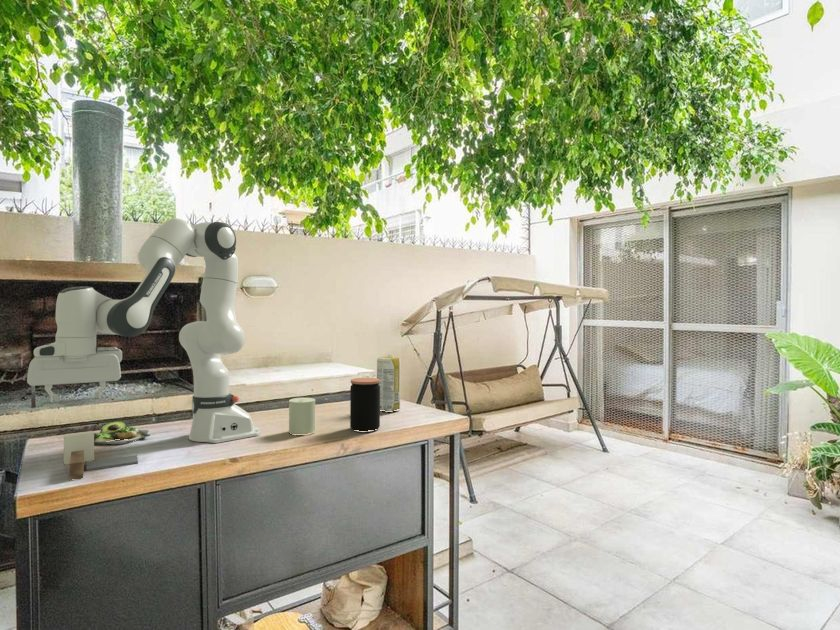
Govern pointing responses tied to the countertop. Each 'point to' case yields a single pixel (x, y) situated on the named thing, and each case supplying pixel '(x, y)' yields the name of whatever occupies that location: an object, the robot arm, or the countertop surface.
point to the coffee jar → (365, 404)
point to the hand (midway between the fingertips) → (76, 400)
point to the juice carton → (389, 382)
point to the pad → (112, 462)
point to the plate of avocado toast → (119, 433)
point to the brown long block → (76, 465)
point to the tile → (79, 445)
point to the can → (301, 415)
